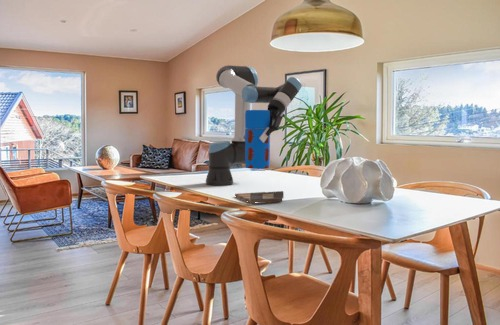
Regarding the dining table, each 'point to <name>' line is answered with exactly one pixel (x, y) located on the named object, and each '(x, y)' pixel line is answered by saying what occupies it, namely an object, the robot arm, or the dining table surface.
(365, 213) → the dining table surface
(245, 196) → the shelf board
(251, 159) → the blue tall block
